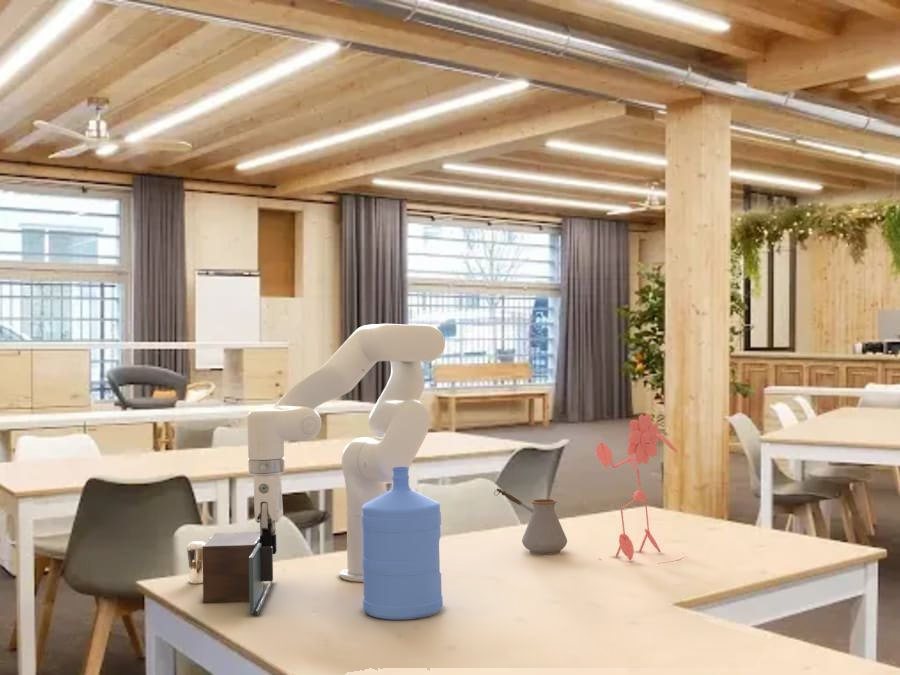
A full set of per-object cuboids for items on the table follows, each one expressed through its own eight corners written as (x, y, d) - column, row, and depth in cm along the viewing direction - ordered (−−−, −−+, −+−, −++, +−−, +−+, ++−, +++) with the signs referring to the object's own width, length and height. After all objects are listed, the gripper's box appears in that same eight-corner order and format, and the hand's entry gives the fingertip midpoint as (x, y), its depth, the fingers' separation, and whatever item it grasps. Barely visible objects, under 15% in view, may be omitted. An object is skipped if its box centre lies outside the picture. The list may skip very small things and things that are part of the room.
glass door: (274, 593, 208) (273, 542, 208) (266, 612, 192) (265, 557, 192) (259, 594, 207) (258, 542, 208) (249, 613, 192) (248, 557, 192)
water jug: (413, 625, 183) (411, 474, 184) (346, 614, 192) (344, 470, 192) (457, 606, 197) (455, 465, 197) (393, 597, 205) (391, 462, 206)
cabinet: (272, 583, 220) (271, 531, 220) (257, 616, 192) (256, 556, 192) (215, 585, 219) (214, 533, 219) (192, 618, 191) (191, 558, 191)
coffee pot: (576, 550, 251) (575, 491, 251) (550, 558, 242) (548, 496, 243) (510, 541, 265) (509, 485, 265) (482, 548, 256) (481, 490, 257)
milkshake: (206, 584, 220) (205, 539, 220) (183, 584, 221) (183, 539, 221) (214, 580, 224) (214, 536, 225) (193, 579, 225) (192, 535, 226)
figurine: (590, 561, 237) (587, 416, 238) (657, 547, 254) (653, 410, 255) (641, 571, 225) (637, 418, 226) (707, 555, 242) (704, 412, 243)
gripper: (279, 470, 203) (282, 560, 202) (288, 462, 217) (290, 546, 217) (243, 471, 202) (245, 561, 202) (254, 463, 217) (255, 547, 217)
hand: (268, 553), depth 209 cm, fingers closed
